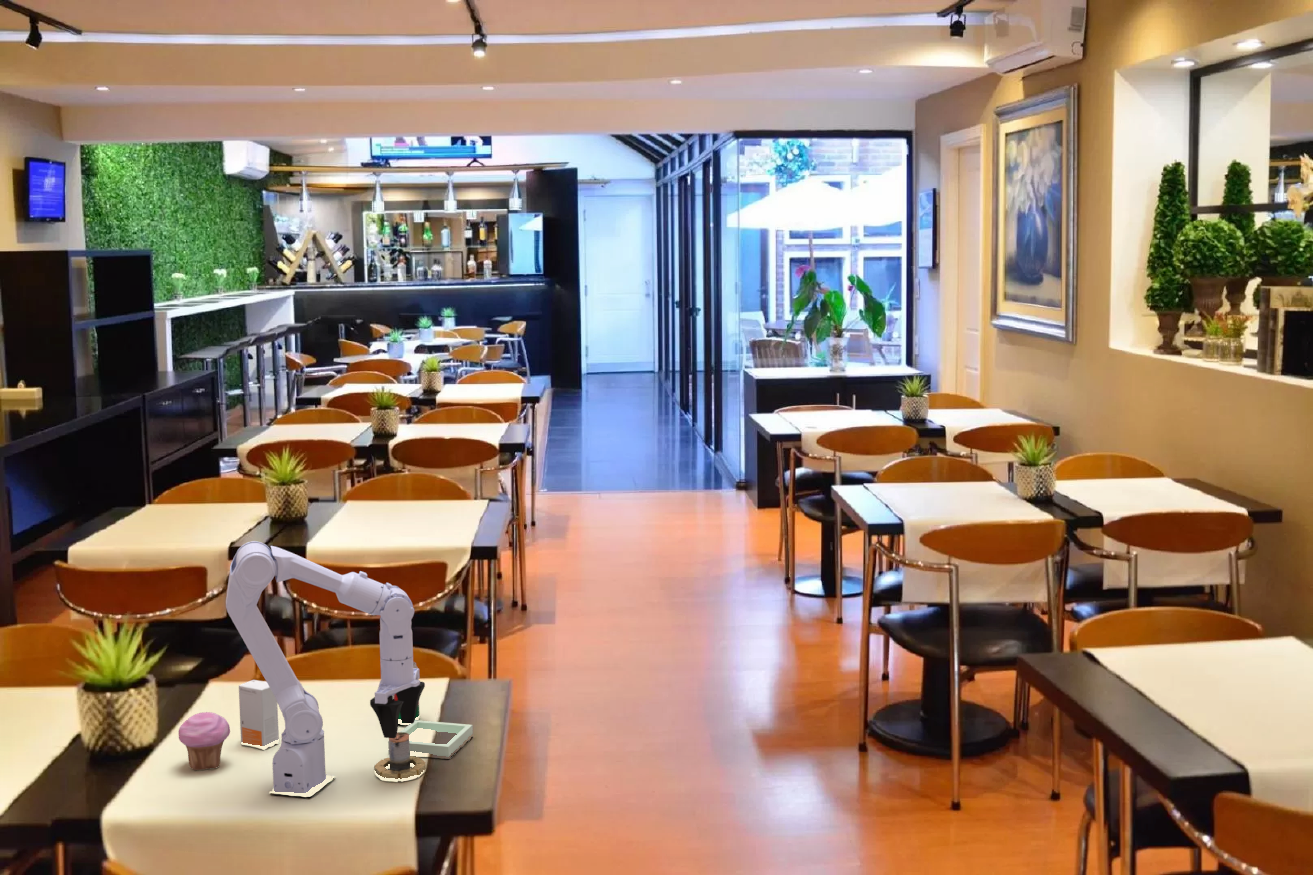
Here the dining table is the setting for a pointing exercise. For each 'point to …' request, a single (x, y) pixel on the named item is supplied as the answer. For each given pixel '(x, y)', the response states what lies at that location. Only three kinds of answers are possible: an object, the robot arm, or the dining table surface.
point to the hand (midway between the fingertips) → (399, 729)
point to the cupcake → (204, 739)
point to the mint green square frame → (439, 749)
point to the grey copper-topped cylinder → (399, 752)
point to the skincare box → (258, 713)
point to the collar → (416, 770)
